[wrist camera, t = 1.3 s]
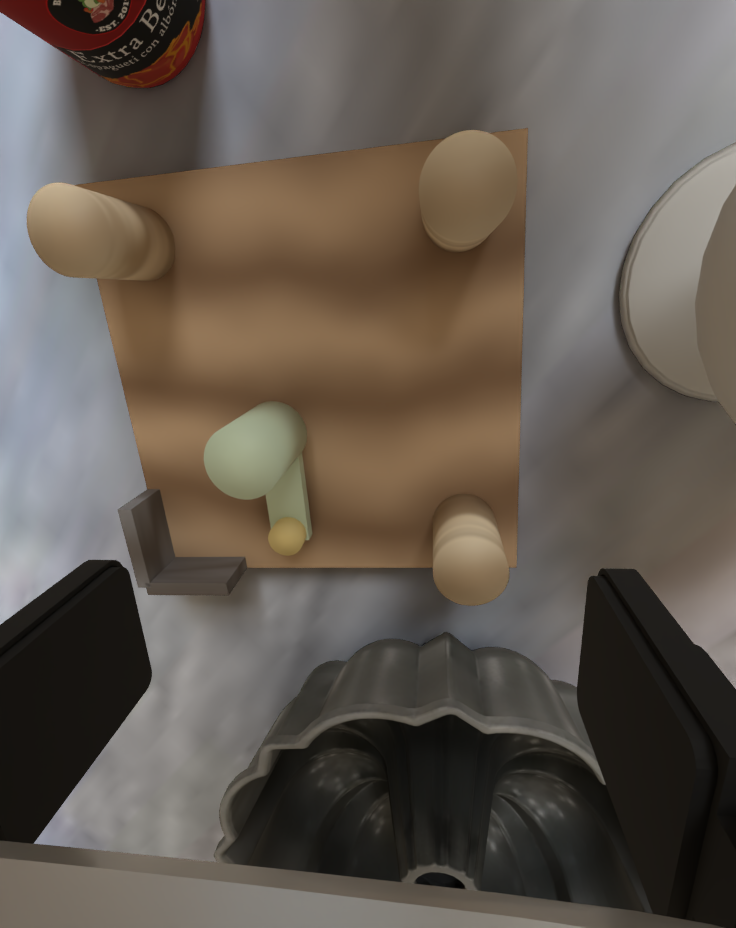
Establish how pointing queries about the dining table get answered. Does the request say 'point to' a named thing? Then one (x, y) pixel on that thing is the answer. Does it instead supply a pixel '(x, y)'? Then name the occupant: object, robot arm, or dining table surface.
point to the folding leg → (265, 469)
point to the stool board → (318, 351)
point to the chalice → (687, 284)
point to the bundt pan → (434, 780)
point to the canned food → (117, 34)
